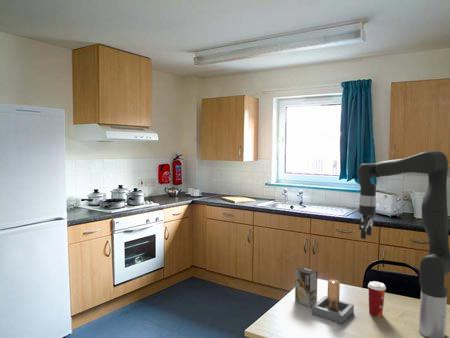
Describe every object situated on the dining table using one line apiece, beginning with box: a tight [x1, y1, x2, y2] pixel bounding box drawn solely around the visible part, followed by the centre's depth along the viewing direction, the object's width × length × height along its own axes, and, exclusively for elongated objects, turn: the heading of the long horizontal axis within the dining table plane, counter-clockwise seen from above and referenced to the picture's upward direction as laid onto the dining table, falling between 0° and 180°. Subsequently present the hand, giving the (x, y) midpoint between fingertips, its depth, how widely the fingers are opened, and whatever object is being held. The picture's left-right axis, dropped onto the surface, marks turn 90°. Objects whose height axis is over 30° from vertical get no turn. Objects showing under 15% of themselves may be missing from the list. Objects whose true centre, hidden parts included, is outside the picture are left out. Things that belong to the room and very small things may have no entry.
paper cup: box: [367, 280, 387, 317], centre depth 163 cm, size 8×8×14 cm
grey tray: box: [311, 295, 355, 325], centre depth 163 cm, size 14×14×4 cm
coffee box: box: [294, 266, 318, 308], centre depth 174 cm, size 9×6×16 cm
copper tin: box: [327, 279, 341, 313], centre depth 162 cm, size 5×5×14 cm
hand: (366, 236), depth 175 cm, fingers open, 8 cm apart
